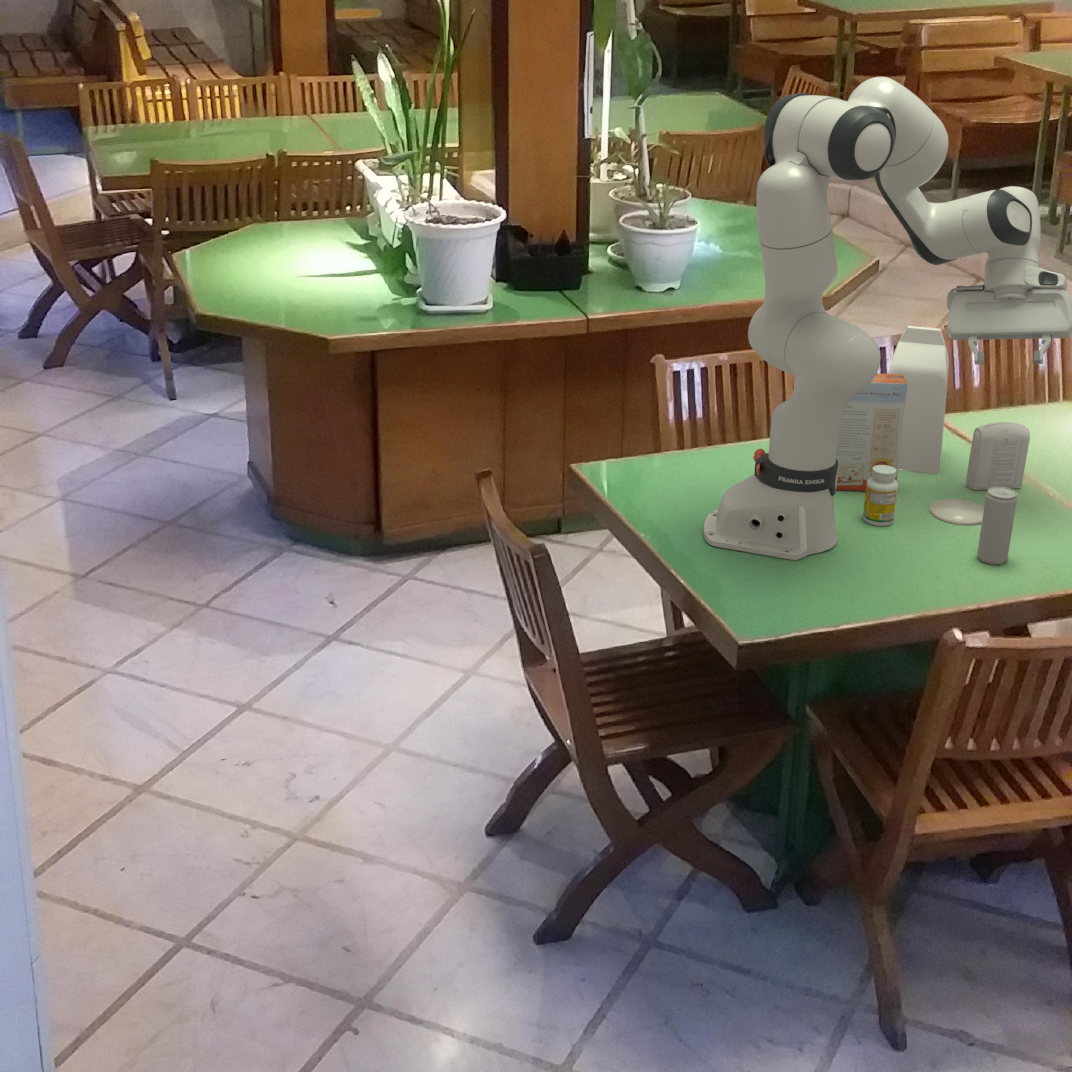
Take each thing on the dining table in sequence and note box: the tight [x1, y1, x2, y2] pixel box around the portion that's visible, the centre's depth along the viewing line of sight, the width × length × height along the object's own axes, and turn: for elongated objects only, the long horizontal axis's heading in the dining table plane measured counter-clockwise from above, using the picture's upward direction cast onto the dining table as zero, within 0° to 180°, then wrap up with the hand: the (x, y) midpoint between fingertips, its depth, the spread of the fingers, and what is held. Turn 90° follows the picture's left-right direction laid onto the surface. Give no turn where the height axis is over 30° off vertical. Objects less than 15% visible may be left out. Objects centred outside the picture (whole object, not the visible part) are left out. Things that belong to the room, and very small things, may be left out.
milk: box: [887, 325, 950, 475], centre depth 273 cm, size 12×12×26 cm
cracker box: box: [836, 373, 907, 492], centre depth 262 cm, size 14×6×21 cm, turn 84°
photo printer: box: [965, 421, 1031, 490], centre depth 264 cm, size 10×4×12 cm, turn 98°
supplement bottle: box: [862, 465, 899, 527], centre depth 250 cm, size 5×5×10 cm
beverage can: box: [976, 487, 1018, 566], centre depth 236 cm, size 5×5×12 cm
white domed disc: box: [929, 498, 985, 526], centre depth 255 cm, size 10×10×1 cm
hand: (1008, 363), depth 243 cm, fingers open, 8 cm apart
